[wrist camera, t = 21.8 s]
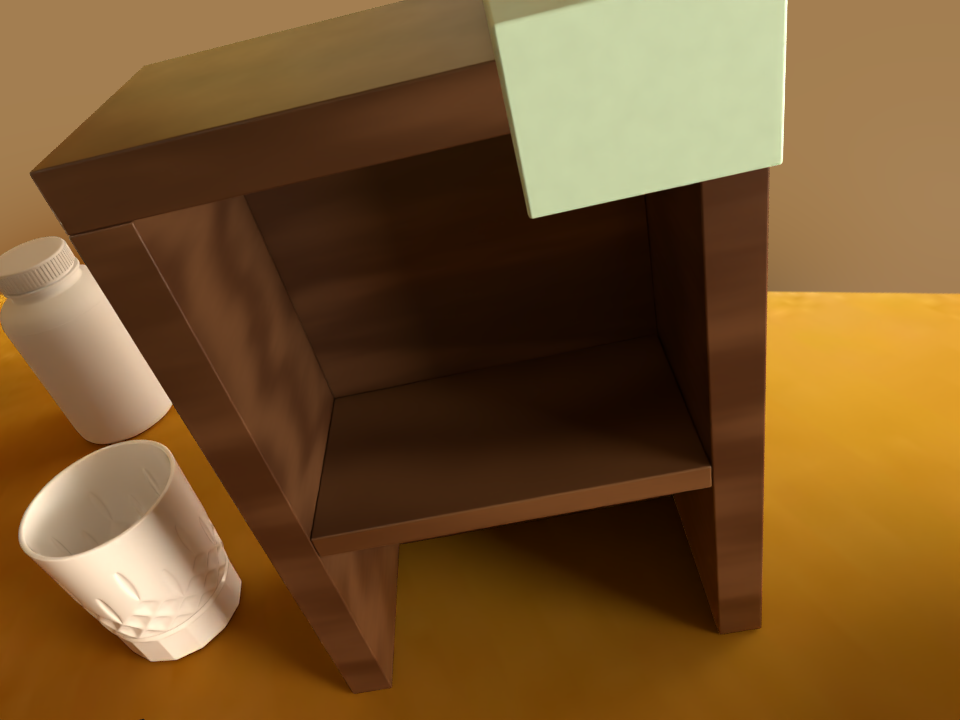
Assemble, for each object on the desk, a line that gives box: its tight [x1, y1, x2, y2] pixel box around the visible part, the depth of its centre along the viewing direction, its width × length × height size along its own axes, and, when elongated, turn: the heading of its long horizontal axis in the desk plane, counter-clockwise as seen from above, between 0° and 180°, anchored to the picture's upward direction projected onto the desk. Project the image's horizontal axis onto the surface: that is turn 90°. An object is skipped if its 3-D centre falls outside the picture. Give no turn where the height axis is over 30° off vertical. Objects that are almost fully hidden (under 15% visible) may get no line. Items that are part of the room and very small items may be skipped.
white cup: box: [18, 440, 242, 662], centre depth 41 cm, size 8×8×10 cm
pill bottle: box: [0, 236, 172, 444], centre depth 56 cm, size 8×8×15 cm
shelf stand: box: [30, 0, 769, 694], centre depth 32 cm, size 10×20×28 cm, turn 93°
